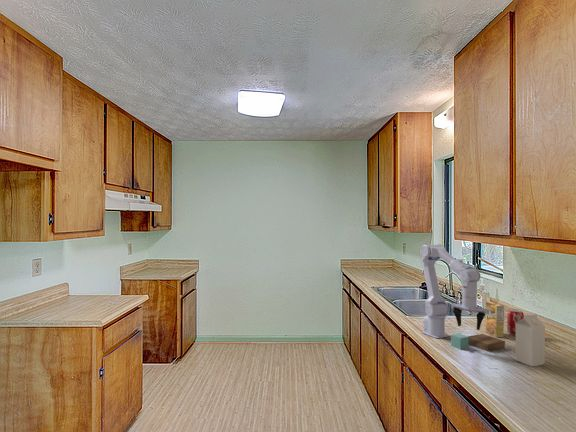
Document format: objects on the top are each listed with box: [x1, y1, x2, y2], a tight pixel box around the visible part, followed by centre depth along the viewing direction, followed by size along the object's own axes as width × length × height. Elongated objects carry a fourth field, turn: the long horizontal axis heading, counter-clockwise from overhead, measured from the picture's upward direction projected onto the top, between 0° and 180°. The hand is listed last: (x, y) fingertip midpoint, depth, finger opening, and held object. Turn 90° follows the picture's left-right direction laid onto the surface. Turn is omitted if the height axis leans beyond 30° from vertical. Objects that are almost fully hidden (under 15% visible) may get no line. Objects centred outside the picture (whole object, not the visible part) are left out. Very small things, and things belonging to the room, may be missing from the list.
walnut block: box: [468, 333, 506, 352], centre depth 168 cm, size 11×11×4 cm
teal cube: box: [450, 333, 469, 350], centre depth 166 cm, size 5×5×5 cm
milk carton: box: [514, 313, 546, 367], centre depth 149 cm, size 7×7×19 cm
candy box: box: [484, 301, 505, 338], centre depth 185 cm, size 9×4×15 cm, turn 6°
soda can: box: [506, 308, 524, 337], centre depth 185 cm, size 7×7×12 cm
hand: (468, 327), depth 163 cm, fingers open, 7 cm apart
